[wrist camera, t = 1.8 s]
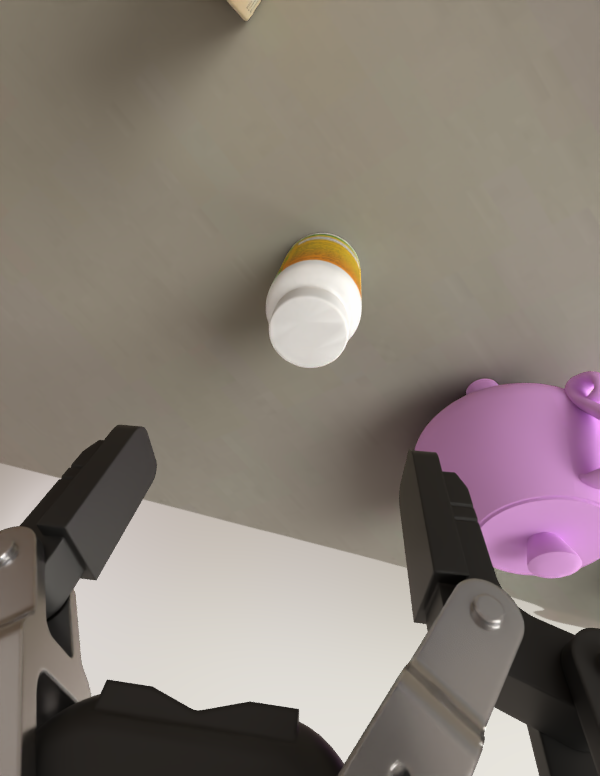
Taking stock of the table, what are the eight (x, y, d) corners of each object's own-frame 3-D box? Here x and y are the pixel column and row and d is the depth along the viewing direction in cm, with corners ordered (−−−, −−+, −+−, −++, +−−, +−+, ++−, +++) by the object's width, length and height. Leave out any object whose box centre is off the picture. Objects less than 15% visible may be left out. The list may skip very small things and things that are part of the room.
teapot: (487, 521, 39) (534, 659, 29) (364, 479, 38) (367, 609, 28) (653, 375, 27) (827, 521, 17) (483, 309, 26) (565, 424, 16)
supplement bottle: (282, 230, 25) (248, 279, 17) (363, 231, 24) (367, 282, 16) (285, 306, 28) (258, 377, 20) (358, 308, 27) (358, 382, 19)
